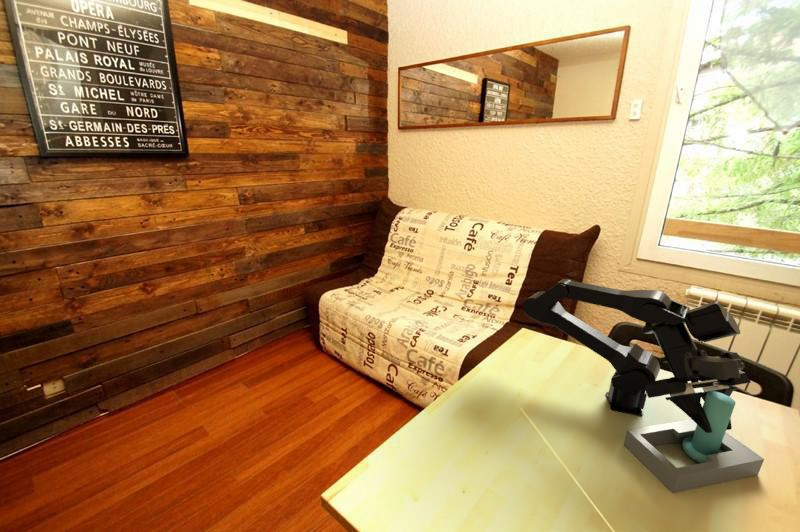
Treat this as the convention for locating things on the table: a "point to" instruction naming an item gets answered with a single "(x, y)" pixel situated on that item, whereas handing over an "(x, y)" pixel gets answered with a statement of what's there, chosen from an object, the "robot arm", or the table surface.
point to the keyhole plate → (718, 469)
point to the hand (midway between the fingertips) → (718, 431)
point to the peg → (718, 416)
